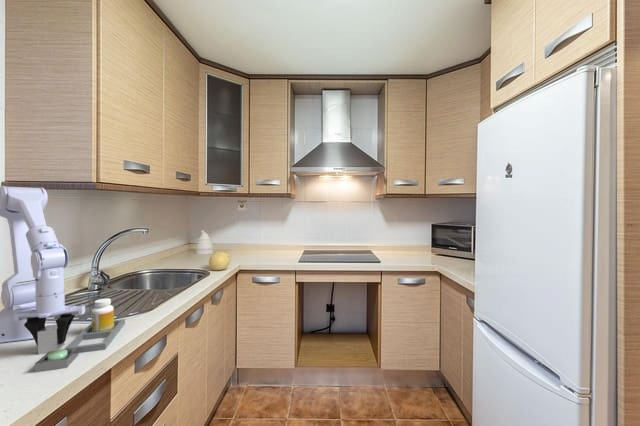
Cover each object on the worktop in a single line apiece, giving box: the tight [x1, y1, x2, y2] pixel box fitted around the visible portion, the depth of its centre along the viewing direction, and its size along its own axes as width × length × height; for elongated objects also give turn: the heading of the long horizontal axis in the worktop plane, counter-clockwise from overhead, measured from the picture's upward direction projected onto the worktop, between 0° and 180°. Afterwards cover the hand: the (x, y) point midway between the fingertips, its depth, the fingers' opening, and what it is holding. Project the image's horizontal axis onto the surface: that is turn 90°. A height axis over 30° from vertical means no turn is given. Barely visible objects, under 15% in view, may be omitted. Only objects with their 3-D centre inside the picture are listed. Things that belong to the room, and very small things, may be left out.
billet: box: [37, 324, 66, 355], centre depth 79 cm, size 4×4×6 cm
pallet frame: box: [64, 318, 126, 354], centre depth 86 cm, size 9×18×2 cm, turn 20°
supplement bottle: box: [91, 298, 115, 333], centre depth 90 cm, size 5×5×10 cm
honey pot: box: [195, 230, 214, 255], centre depth 238 cm, size 13×13×18 cm
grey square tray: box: [34, 348, 79, 373], centre depth 72 cm, size 6×6×2 cm
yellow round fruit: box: [208, 251, 232, 271], centre depth 177 cm, size 11×12×11 cm
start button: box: [48, 348, 67, 360], centre depth 72 cm, size 4×4×2 cm
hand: (51, 343), depth 79 cm, fingers closed on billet, 4 cm apart
